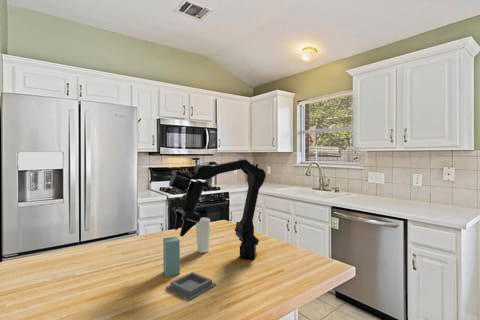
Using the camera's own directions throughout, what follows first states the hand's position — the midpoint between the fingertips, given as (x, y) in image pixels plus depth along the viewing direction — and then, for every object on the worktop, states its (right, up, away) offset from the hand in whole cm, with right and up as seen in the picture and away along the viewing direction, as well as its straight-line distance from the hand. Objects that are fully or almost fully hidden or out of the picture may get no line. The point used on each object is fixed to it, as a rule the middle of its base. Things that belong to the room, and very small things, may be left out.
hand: (178, 232), depth 105 cm
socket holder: (+7, -15, -12) cm, 21 cm away
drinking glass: (+7, -14, +21) cm, 26 cm away
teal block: (-2, -15, -2) cm, 15 cm away
